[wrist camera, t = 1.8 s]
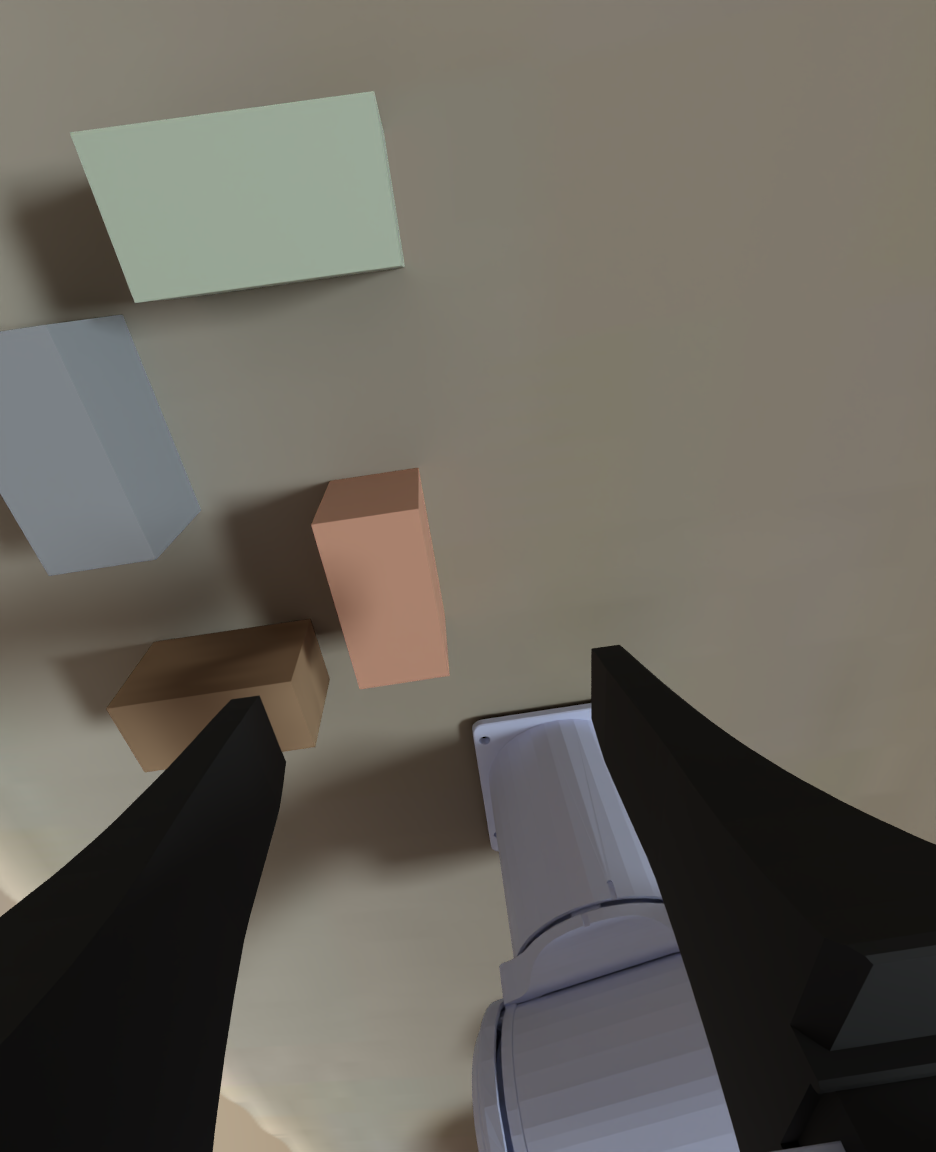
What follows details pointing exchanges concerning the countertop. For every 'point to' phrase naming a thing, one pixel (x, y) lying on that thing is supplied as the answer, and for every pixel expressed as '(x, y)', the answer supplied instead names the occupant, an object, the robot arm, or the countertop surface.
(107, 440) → the slate brick
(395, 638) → the terracotta brick
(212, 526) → the countertop surface
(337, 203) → the sage brick
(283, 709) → the walnut brick
